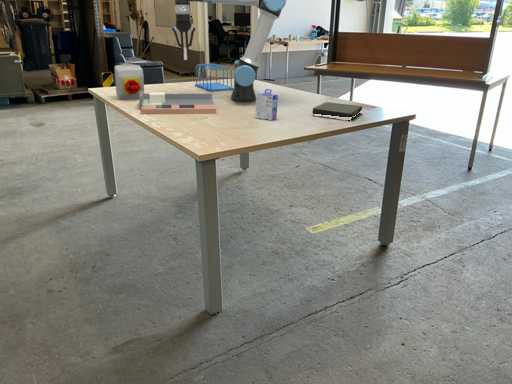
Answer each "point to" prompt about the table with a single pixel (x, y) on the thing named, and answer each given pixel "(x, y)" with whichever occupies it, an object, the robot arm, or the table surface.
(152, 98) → the block
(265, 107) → the ink cartridge box
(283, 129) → the table surface
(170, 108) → the trap box
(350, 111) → the network switch
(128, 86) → the electrical switch box
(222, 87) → the file sorter
